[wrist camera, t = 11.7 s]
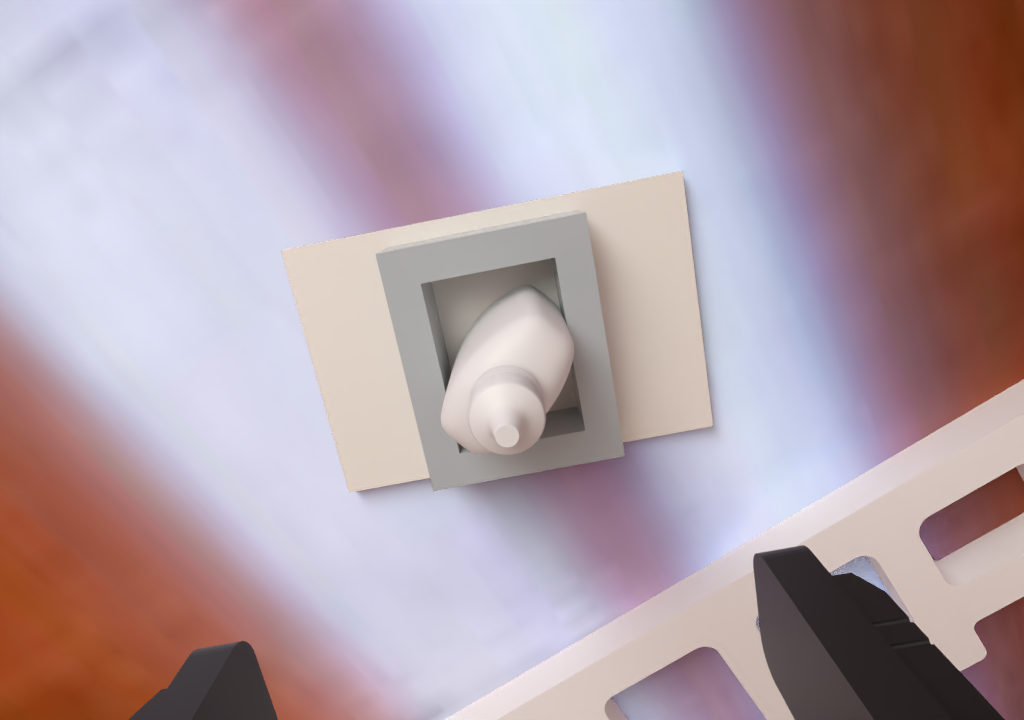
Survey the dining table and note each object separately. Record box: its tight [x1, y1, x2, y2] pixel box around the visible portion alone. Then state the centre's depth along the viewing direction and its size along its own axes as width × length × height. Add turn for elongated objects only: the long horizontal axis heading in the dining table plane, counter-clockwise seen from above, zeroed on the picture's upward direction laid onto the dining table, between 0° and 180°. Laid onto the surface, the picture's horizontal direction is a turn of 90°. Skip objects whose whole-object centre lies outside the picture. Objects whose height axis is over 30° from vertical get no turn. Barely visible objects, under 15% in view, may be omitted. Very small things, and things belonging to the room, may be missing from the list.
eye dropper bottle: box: [441, 285, 574, 455], centre depth 24 cm, size 4×6×12 cm
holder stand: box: [281, 171, 713, 493], centre depth 29 cm, size 12×18×4 cm, turn 101°
